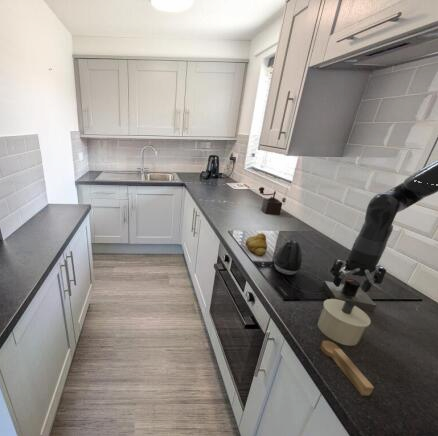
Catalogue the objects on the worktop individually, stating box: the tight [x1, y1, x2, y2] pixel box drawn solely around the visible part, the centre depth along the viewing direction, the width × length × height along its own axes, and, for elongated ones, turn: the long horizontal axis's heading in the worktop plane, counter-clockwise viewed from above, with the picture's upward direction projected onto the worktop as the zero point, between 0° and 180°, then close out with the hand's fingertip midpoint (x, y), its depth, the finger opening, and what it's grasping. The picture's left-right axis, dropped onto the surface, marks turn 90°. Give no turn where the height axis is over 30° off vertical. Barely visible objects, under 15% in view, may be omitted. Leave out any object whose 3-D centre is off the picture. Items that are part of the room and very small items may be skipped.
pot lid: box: [322, 298, 372, 328], centre depth 68 cm, size 11×11×4 cm
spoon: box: [320, 340, 375, 397], centre depth 60 cm, size 14×4×3 cm, turn 0°
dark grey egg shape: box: [273, 239, 303, 276], centre depth 98 cm, size 10×10×15 cm
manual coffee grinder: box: [258, 186, 283, 216], centre depth 172 cm, size 16×11×18 cm
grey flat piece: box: [321, 280, 377, 313], centre depth 85 cm, size 12×10×3 cm
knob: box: [342, 278, 361, 296], centre depth 84 cm, size 4×4×5 cm
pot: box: [316, 306, 367, 347], centre depth 70 cm, size 10×10×7 cm
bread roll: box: [245, 233, 268, 256], centre depth 116 cm, size 13×10×8 cm
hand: (349, 288), depth 84 cm, fingers open, 8 cm apart
